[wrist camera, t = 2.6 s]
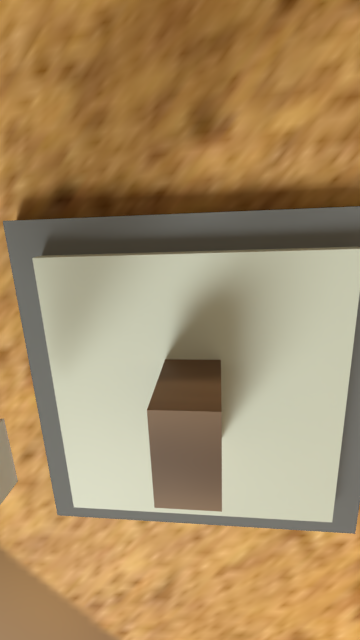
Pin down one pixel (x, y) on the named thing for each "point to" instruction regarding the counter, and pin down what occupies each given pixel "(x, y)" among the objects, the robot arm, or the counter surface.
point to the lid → (202, 377)
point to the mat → (180, 236)
